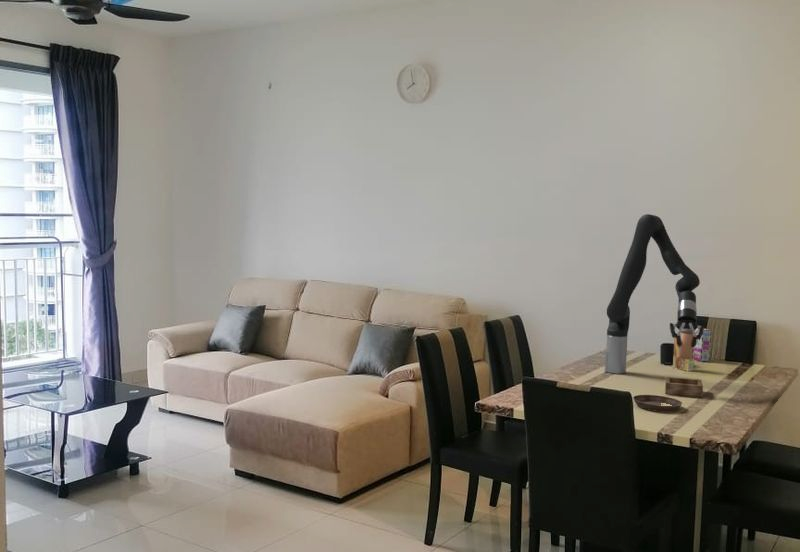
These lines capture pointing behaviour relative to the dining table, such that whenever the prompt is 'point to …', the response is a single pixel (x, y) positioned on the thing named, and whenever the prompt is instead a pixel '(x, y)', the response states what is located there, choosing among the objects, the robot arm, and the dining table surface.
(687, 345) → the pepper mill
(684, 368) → the candy box
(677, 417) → the dining table surface
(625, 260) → the robot arm
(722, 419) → the dining table surface
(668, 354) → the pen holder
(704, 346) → the candy bar box
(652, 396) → the plant saucer
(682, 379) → the bin
